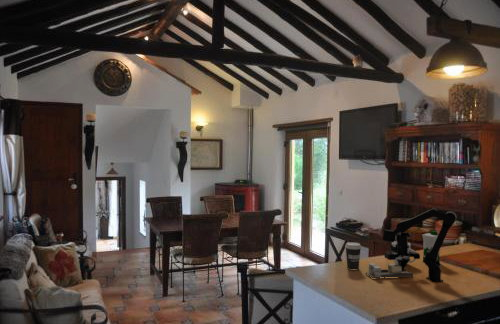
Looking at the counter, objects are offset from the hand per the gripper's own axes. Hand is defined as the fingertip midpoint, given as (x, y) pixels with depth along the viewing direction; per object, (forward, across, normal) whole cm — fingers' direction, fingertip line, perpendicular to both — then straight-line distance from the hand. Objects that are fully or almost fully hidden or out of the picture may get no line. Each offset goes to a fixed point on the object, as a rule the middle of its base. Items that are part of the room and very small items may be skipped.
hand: (401, 270), depth 225 cm
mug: (+3, -11, -20) cm, 23 cm away
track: (+3, +8, 0) cm, 8 cm away
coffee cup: (+3, +23, -15) cm, 28 cm away
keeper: (+1, +4, 0) cm, 5 cm away
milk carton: (+3, -30, -20) cm, 36 cm away
